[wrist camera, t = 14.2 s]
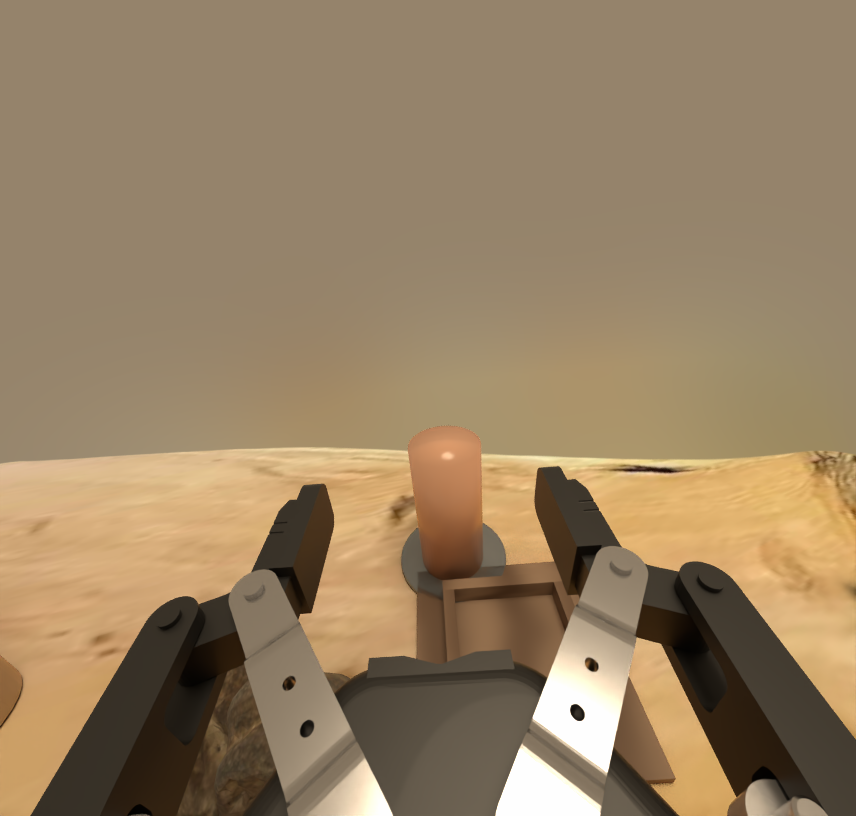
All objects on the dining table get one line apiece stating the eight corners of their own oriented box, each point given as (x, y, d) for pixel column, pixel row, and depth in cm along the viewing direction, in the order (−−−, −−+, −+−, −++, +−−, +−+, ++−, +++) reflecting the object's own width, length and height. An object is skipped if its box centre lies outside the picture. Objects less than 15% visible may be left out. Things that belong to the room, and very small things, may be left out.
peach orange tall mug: (487, 579, 35) (486, 463, 29) (422, 584, 35) (406, 469, 29) (475, 511, 43) (471, 409, 37) (422, 515, 43) (409, 414, 37)
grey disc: (380, 563, 39) (380, 559, 38) (448, 506, 45) (447, 502, 45) (460, 631, 32) (460, 627, 31) (526, 552, 38) (526, 548, 38)
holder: (417, 798, 23) (413, 783, 22) (418, 575, 37) (415, 559, 36) (673, 782, 22) (682, 766, 21) (574, 564, 37) (577, 547, 35)
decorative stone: (128, 676, 25) (311, 567, 25) (237, 733, 30) (390, 641, 30) (-141, 1226, 11) (278, 975, 11) (149, 1163, 16) (440, 990, 16)
